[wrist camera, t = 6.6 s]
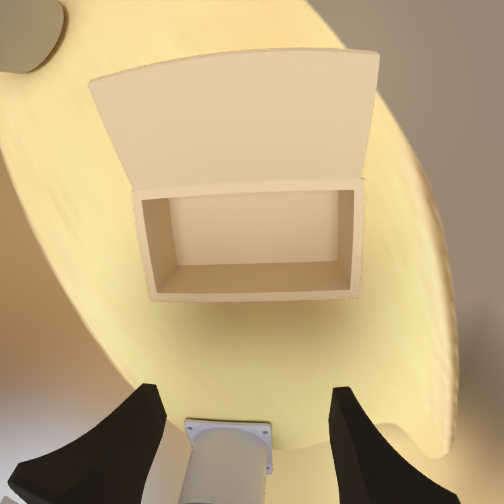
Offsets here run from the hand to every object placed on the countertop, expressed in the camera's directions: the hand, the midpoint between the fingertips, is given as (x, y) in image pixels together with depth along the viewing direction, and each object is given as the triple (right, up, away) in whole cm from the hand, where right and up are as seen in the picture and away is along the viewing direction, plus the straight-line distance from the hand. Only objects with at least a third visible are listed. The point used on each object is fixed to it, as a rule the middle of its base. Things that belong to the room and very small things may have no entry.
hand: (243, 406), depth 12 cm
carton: (0, +8, +8) cm, 11 cm away
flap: (0, +11, 0) cm, 11 cm away
